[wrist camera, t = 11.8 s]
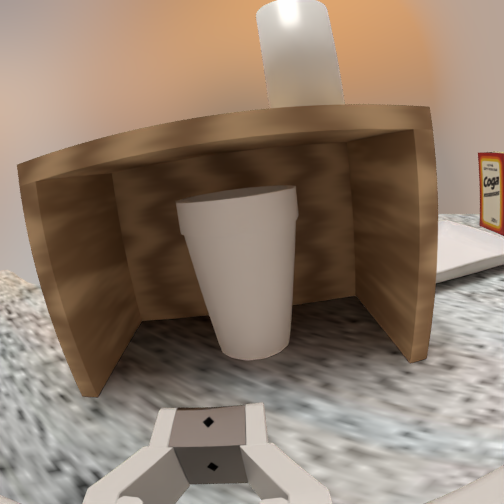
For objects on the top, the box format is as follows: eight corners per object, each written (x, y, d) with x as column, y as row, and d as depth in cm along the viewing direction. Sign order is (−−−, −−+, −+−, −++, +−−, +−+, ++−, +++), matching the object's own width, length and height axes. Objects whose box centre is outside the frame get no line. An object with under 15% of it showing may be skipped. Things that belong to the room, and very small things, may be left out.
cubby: (82, 396, 21) (17, 164, 17) (133, 317, 36) (102, 162, 31) (426, 358, 21) (429, 106, 17) (364, 289, 36) (354, 128, 31)
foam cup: (324, 353, 25) (315, 187, 21) (211, 382, 23) (177, 207, 20) (285, 309, 34) (272, 184, 30) (198, 328, 32) (175, 198, 28)
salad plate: (418, 302, 31) (419, 272, 30) (347, 253, 52) (346, 232, 51) (527, 269, 32) (530, 245, 32) (446, 237, 53) (446, 219, 52)
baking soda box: (479, 225, 56) (477, 151, 52) (500, 224, 56) (499, 152, 52) (503, 235, 47) (502, 151, 43) (524, 233, 46) (524, 152, 42)
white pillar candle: (275, 118, 21) (257, -1, 18) (268, 129, 27) (254, 28, 24) (357, 115, 21) (335, -2, 18) (334, 124, 27) (318, 26, 24)
